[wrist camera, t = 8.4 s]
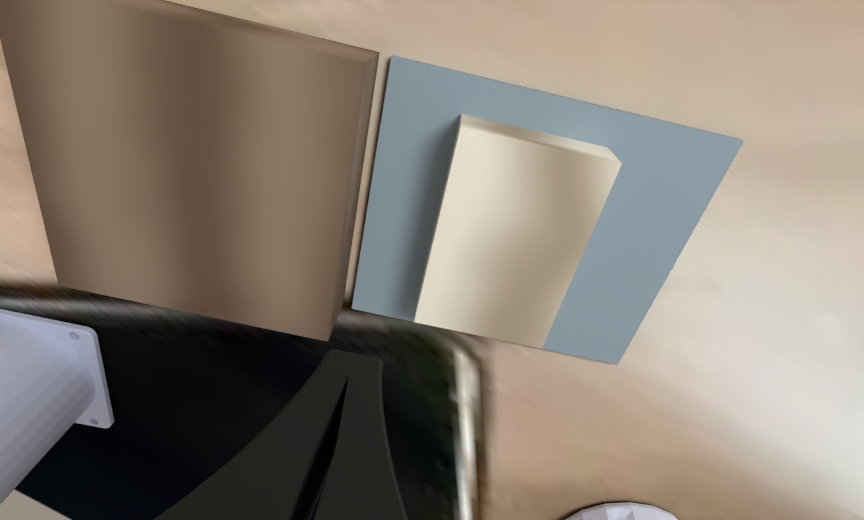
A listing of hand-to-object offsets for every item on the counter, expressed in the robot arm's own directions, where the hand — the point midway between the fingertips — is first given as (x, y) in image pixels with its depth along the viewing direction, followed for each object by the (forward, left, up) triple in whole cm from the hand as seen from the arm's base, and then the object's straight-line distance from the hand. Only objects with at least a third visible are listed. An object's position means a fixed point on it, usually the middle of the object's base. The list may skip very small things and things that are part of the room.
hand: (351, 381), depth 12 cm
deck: (-8, 0, -10) cm, 13 cm away
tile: (+5, +1, -8) cm, 9 cm away
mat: (+6, 0, -10) cm, 12 cm away
